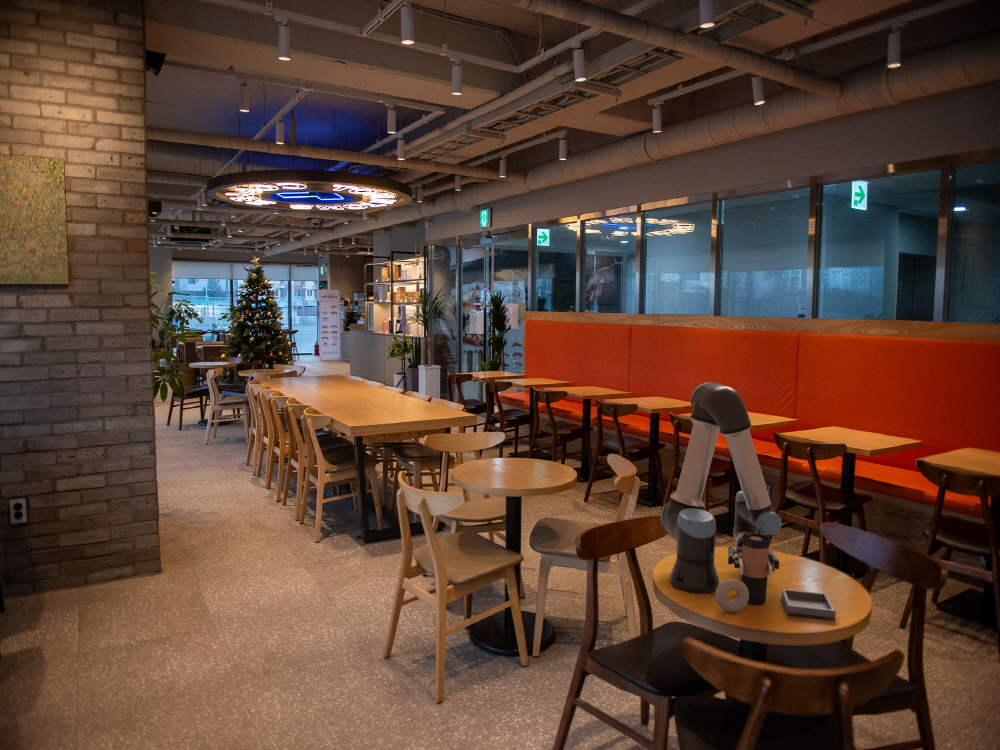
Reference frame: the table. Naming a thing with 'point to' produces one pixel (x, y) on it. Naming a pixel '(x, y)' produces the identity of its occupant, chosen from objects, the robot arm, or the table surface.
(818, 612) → the tray
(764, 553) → the travel mug
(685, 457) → the robot arm
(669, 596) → the table surface
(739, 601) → the donut
